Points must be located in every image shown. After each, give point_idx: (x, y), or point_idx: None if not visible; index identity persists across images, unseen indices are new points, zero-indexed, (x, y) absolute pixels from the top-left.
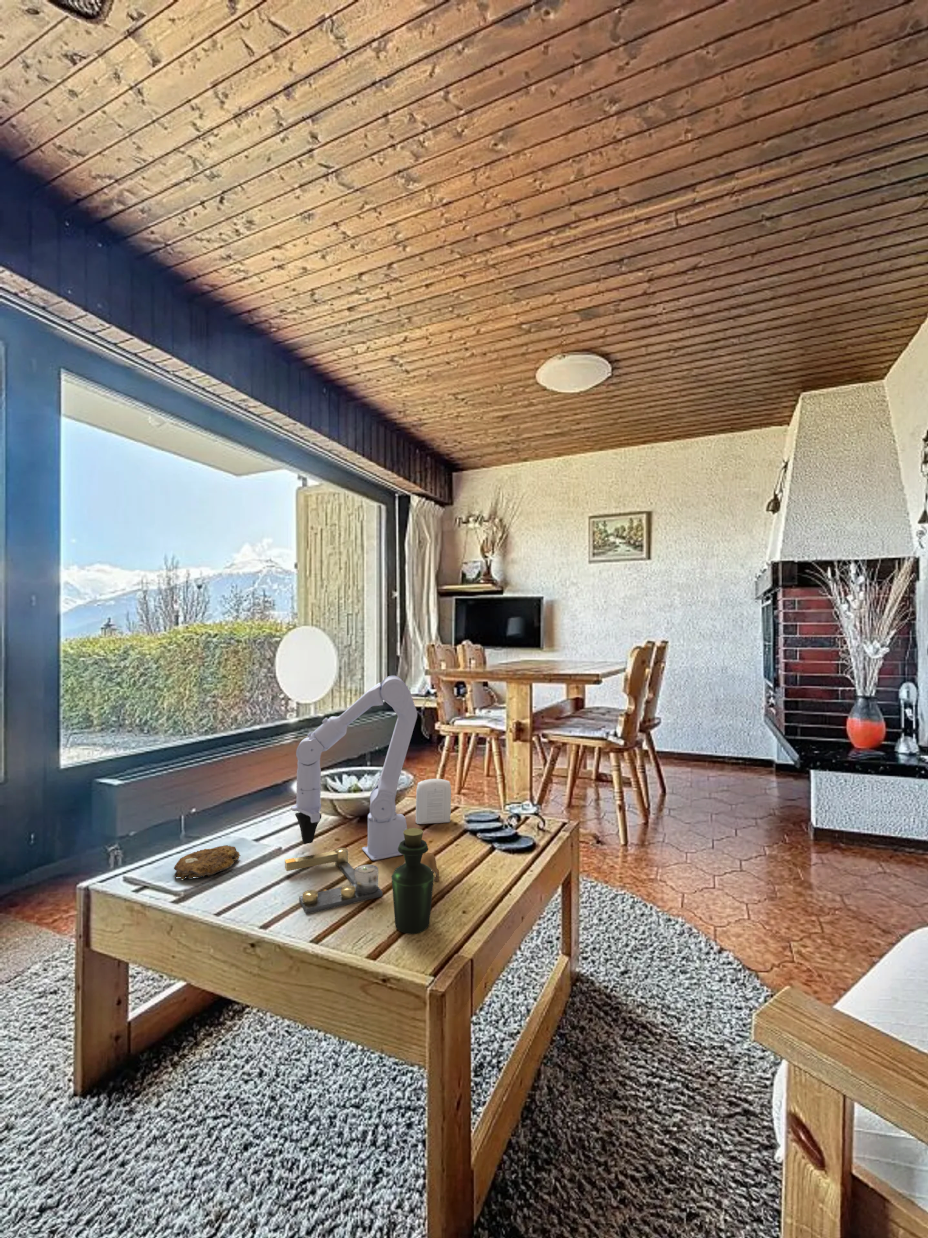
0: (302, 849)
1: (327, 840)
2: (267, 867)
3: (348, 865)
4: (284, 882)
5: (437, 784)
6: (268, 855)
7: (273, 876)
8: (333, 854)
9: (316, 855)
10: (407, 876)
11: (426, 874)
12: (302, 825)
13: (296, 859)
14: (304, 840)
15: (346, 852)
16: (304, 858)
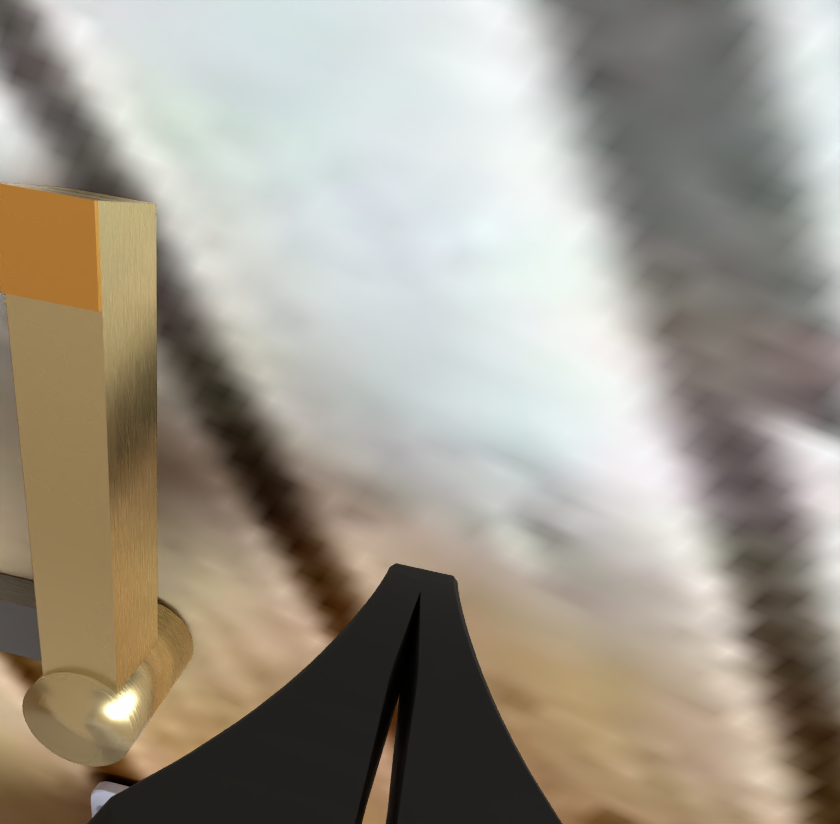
0: (626, 560)
1: (653, 776)
2: (435, 105)
3: (15, 644)
4: (12, 131)
5: None
6: (747, 236)
7: (184, 82)
8: (40, 643)
9: (78, 528)
10: None
11: None
12: (214, 750)
13: (62, 325)
14: (378, 591)
15: (38, 729)
16: (48, 404)
